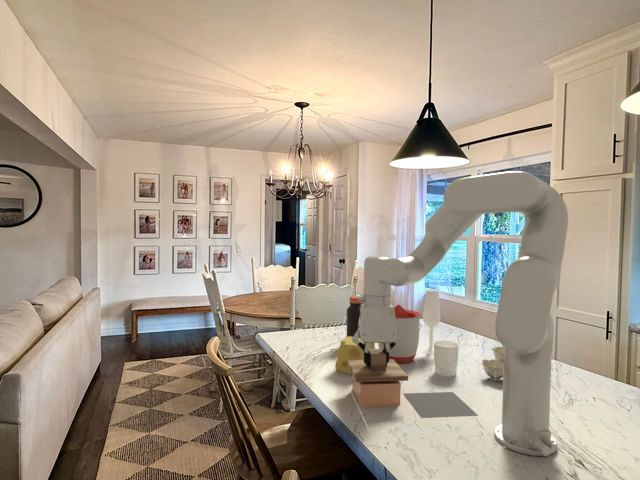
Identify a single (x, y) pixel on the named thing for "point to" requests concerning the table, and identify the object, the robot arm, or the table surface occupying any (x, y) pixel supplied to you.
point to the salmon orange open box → (377, 392)
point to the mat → (439, 405)
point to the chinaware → (495, 364)
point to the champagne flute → (431, 315)
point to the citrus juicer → (405, 335)
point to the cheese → (349, 354)
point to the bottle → (353, 315)
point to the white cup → (445, 358)
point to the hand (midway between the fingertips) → (376, 364)
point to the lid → (376, 369)
